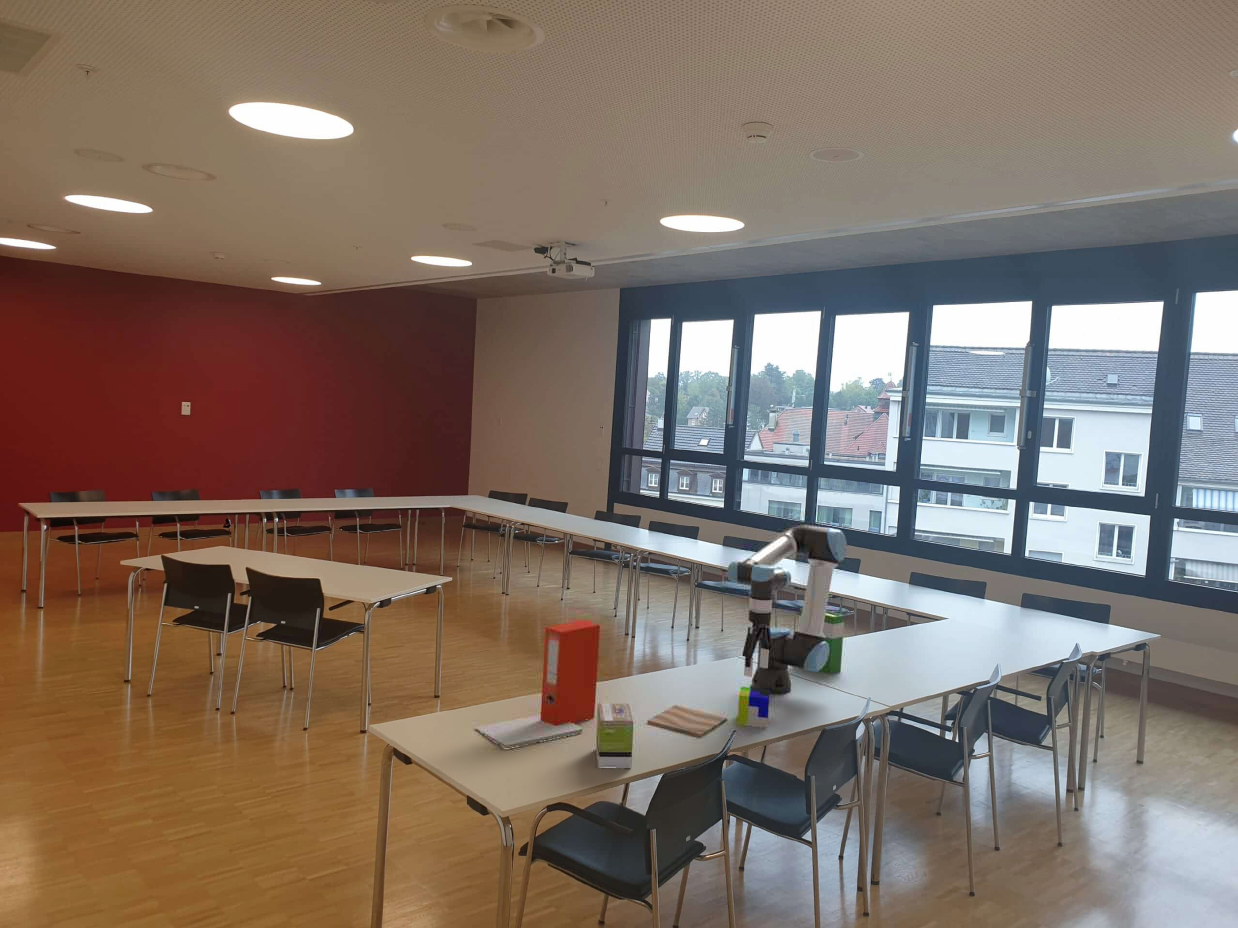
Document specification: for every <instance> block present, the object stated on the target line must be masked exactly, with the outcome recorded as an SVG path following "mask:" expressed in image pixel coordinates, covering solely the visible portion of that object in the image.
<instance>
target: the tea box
mask: <svg viewBox="0 0 1238 928" xmlns="http://www.w3.org/2000/svg"><path fill="white" fill-rule="evenodd" d="M596 711H597V715H596V737H595V738H596V741H595V743H596V744H595V748H596V749H595V750H596V758H597V767H598V768H599V767H616V768H631V769H632V765H633V764H632V762H633V761H632V760H633V756H632V755H633V741H634V740H633V739H634V719H633V716H632V712H631V707H630V705H629V703H599V702H598V703H597V710H596Z"/></svg>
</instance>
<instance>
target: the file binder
mask: <svg viewBox="0 0 1238 928" xmlns="http://www.w3.org/2000/svg"><path fill="white" fill-rule="evenodd" d="M600 628H601V624H598V623H595V622H593V621H588V620H585V619H583V620H578V621H571V622H567V623H562V624H556V625H549V626H546V627H545V634H544V635H545V637H544V651H543V652H544V653H543V654H544V655H543V668H542V669H543V670H542V686H541V703H540V704H541V705H540V715H541V719H540V720H541V721H544V722H547V723H549V724H552V725H555V726H558V725H561V724H565V723H568V722H571V723H575V724H577V723H576V722H578V723H580V721H582V722H584V721H583V720H585V721H587V720H586V719H588V720H591V719H590V718H592V719H594V718H595V713H596V699H597V698H596V696H597V681H598V680H597V678H598V664H599V647H600V645H599V644H600V633H601V629H600Z"/></svg>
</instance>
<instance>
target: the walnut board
mask: <svg viewBox="0 0 1238 928" xmlns="http://www.w3.org/2000/svg"><path fill="white" fill-rule="evenodd" d="M727 721H728V717H726V716H721V715H718V714H713V713H710V712H705V711H701V710H697V709H693V708H689V707H686V706H681V705H678V704H675V705H673V706H671V707H669V708H667V709H665V710H664V711H662V712H661V713H658V714H656V715H655V716H653V717H651V718H649V719H647V724H649V725H654V726H656V727H661V728H664V729H668V730H671V731H674V732H675V731H676V732H679V733H683V734H686V735H689V736H694V737H697V738H702V737H704V736H706V735H708V733H711V732H712V731H713V730H716V729H717V728H718V727H719V726H721V725H723V724H724V723H726V722H727Z"/></svg>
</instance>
